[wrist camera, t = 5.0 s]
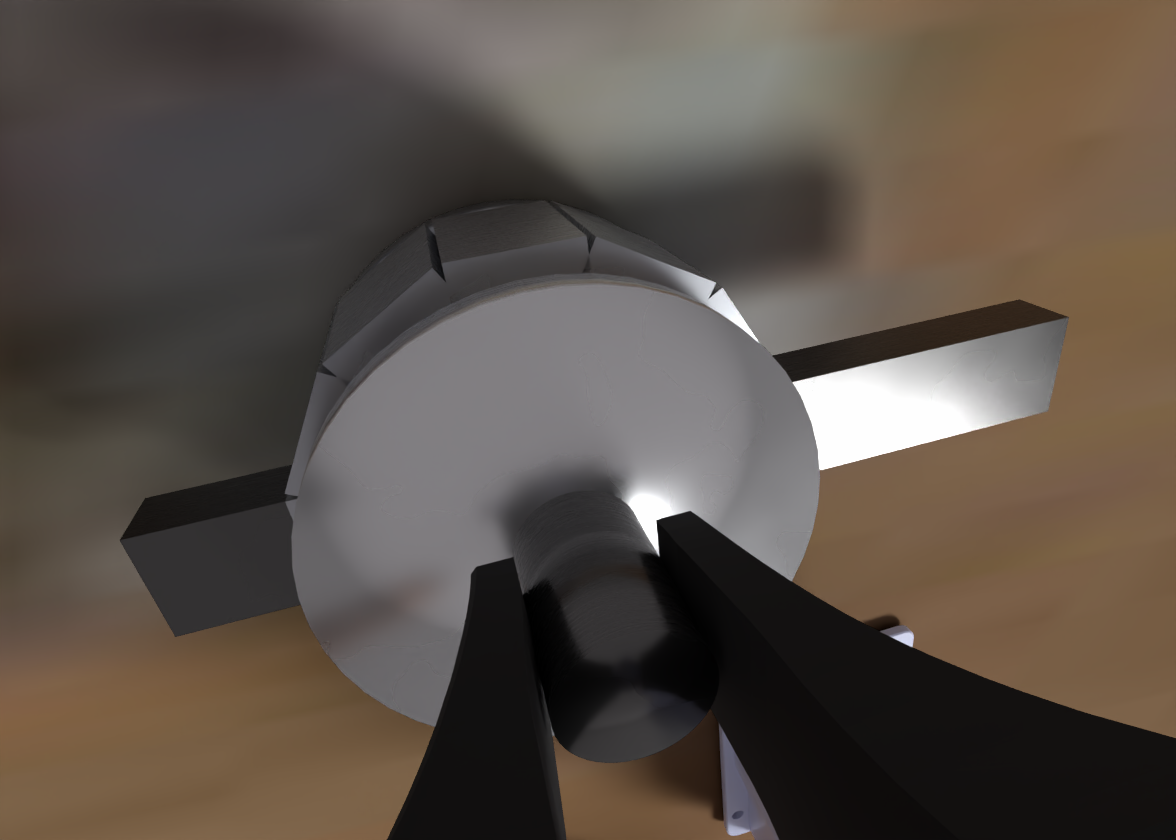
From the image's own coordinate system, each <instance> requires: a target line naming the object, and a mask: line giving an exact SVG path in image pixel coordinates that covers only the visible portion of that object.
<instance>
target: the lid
mask: <svg viewBox="0 0 1176 840" xmlns="http://www.w3.org/2000/svg"><path fill="white" fill-rule="evenodd" d="M819 482H820V471H819V458H818V448H817V444H816V439H815V435H814V431H813V426H812V422H811V420H810V417H809V415H808V412H807V410H806V408H805V405H804V403H803V400H802V398H801V396H800V394H799V392H798V391H797V389H796V387H795V386H794V384H793V383H792V381H791V379H790V378H789V376H788V374H787V373H786V371H785V370H784V369H783V368H782V367H781V365H780V364H779V363H778V362H777V361H776V360H775V359H774V357H773V356H772V355H771V354H770V353H769V352H768V351H767V349H766V348H765V347H763V346H762V345H761V344H760V343H758V342H757V341H756V340H755V339H754V338H752V337H751V336H750V335H749V334H748V333H746V332H745V331H744V330H743V329H742V328H740V327H739V326H737V325H736V324H735V323H733V322H732V321H730V320H729V319H728V318H726V317H725V316H723V315H722V314H720V313H719V312H717V311H715V310H714V309H712V308H710V307H709V306H707V305H705V304H704V303H702V302H700V301H699V300H697V299H695V298H693V297H691V296H688V295H686V294H683V293H681V292H678V291H676V290H674V289H671V288H669V287H666V286H664V285H660V284H656V283H652V282H648V281H644V280H640V279H636V278H632V277H626V276H616V275H607V274H597V273H578V274H553V275H547V276H541V277H535V278H529V279H523V280H517V281H513V282H509V283H506V284H503V285H499V286H496V287H493V288H490V289H486V290H483V291H480V292H477V293H474V294H472V295H470V296H468V297H465V298H463V299H461V300H459V301H457V302H454V303H452V304H450V305H448V306H446V307H443V308H441V309H439V310H438V311H436V312H434V313H433V314H431V315H429V316H428V317H426V318H425V319H423V320H421V321H420V322H418V323H417V324H415V325H413V326H412V327H410V328H408V329H407V330H405V331H404V332H403V333H402V334H400V335H399V336H398V337H397V338H396V339H394V340H393V341H392V342H391V343H389V344H388V345H387V346H386V347H385V348H383V349H382V350H381V351H380V352H379V353H377V354H376V355H375V356H374V357H373V358H372V359H371V360H370V361H369V362H368V364H367V365H366V366H365V367H364V368H363V369H362V370H361V371H360V372H359V373H358V374H357V375H356V376H355V378H354V379H353V380H352V381H351V382H350V383H349V384H348V386H347V387H346V389H345V390H344V392H343V393H342V394H341V396H340V397H339V399H338V400H337V402H336V403H335V405H334V406H333V407H332V409H331V410H330V412H329V413H328V415H327V417H326V419H325V421H324V423H323V425H322V427H321V429H320V431H319V433H318V435H317V437H316V439H315V442H314V444H313V446H312V449H311V452H310V455H309V459H308V462H307V465H306V468H305V471H304V475H303V478H302V482H301V486H300V490H299V494H298V498H297V502H296V508H295V515H294V522H293V529H292V536H291V539H292V569H293V574H294V579H295V584H296V589H297V593H298V598H299V601H300V604H301V606H302V609H303V611H304V614H305V616H306V619H307V621H308V624H309V627H310V628H311V630H312V632H313V633H314V635H315V637H316V638H317V640H318V641H319V643H320V645H321V646H322V648H323V650H324V651H325V653H326V654H327V655H328V656H329V657H330V659H331V660H332V661H333V662H334V663H335V664H336V666H337V667H338V668H339V669H340V670H341V671H342V673H343V674H344V675H345V676H347V677H348V678H349V679H350V680H351V681H352V682H354V683H355V684H356V685H357V686H358V687H359V688H361V689H362V690H363V691H364V692H365V693H367V694H368V695H370V696H371V697H373V698H374V699H376V700H378V701H379V702H381V703H382V704H384V705H385V706H387V707H388V708H390V709H392V710H394V711H397V712H399V713H401V714H403V715H405V716H407V717H409V718H412V719H414V720H416V721H419V722H422V723H425V724H428V725H431V726H434V727H435V726H436V723H437V720H438V717H439V714H440V711H441V707H442V704H443V701H444V698H445V695H446V692H447V689H448V686H449V683H450V680H451V676H452V673H453V669H454V665H455V661H456V657H457V653H458V649H459V645H460V642H461V638H462V634H463V629H464V624H465V619H466V614H467V608H468V602H469V594H470V584H471V573H472V572H473V570H474V569H475V568H476V567H477V566H481V565H484V564H488V563H492V562H496V561H500V560H504V559H507V558H511V557H514V561H515V565H516V569H517V573H518V578H519V582H520V586H521V590H522V595H523V599H524V603H525V608H526V612H527V616H528V621H529V625H530V629H531V634H532V638H533V644H534V650H535V657H536V662H537V667H538V671H539V675H540V679H541V684H542V688H543V692H544V697H545V701H546V705H547V709H548V714H549V718H550V723H551V730H552V736H555V737H556V738H557V740H558V741H559V743H560V744H561V745H562V746H563V747H564V748H565V749H567V750H568V751H569V752H571V753H572V754H574V755H576V756H578V757H580V758H583V759H586V760H590V761H595V762H604V763H617V762H626V761H631V760H636V759H640V758H643V757H647V756H650V755H652V754H655V753H657V752H660V751H662V750H664V749H666V748H668V747H669V746H671V745H673V744H674V743H676V742H678V741H679V740H681V739H682V738H683V737H685V736H686V735H687V734H688V733H690V732H691V731H692V730H693V729H694V728H695V727H696V726H697V725H698V724H699V723H700V722H701V721H702V719H703V718H704V717H705V716H706V714H707V713H708V711H709V710H710V708H711V706H712V704H713V702H714V700H715V698H716V695H717V692H718V688H719V669H718V665H717V662H716V660H715V658H714V656H713V654H712V652H711V650H710V648H709V647H708V645H707V643H706V641H705V639H704V638H703V636H702V634H701V632H700V630H699V628H698V627H697V625H696V623H695V621H694V619H693V617H692V616H691V614H690V612H689V610H688V608H687V607H686V605H685V603H684V601H683V599H682V597H681V596H680V594H679V592H678V590H677V588H676V586H675V585H674V583H673V581H672V579H671V577H670V576H669V574H668V572H667V570H666V568H665V566H664V565H663V563H662V561H661V559H660V557H659V546H658V536H657V526H656V520H657V519H661V518H665V517H668V516H672V515H676V514H680V513H684V512H688V511H691V512H693V513H695V514H696V515H697V516H699V517H700V518H702V519H703V520H704V521H706V522H707V523H708V524H710V525H711V526H713V527H714V528H715V529H717V530H718V531H719V532H721V533H722V534H723V535H725V536H726V537H728V538H729V539H730V540H732V541H733V542H735V543H736V544H737V545H739V546H740V547H742V548H743V549H744V550H746V551H747V552H749V553H750V554H751V555H753V556H754V557H756V558H757V559H759V560H760V561H761V562H763V563H764V564H766V565H767V566H769V567H770V568H772V569H774V570H775V571H777V572H778V573H780V574H781V575H783V576H784V577H786V578H787V579H789V580H790V581H792V580H793V578H794V576H795V573H796V571H797V569H798V567H799V565H800V563H801V561H802V559H803V557H804V554H805V551H806V548H807V545H808V542H809V539H810V536H811V533H812V531H813V526H814V521H815V516H816V511H817V506H818V497H819Z"/></svg>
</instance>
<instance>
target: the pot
mask: <svg viewBox="0 0 1176 840" xmlns="http://www.w3.org/2000/svg"><path fill="white" fill-rule="evenodd" d="M578 273H597V274H607V275H616V276H626V277H632V278H636V279H640V280H644V281H648V282H652V283H656V284H660V285H664V286H666V287H669V288H671V289H674V290H676V291H678V292H681V293H683V294H686V295H688V296H691V297H693V298H695V299H697V300H699V301H700V302H702V303H704V304H705V305H707V306H709V307H710V308H712V309H714V310H715V311H717V312H719V313H720V314H722V315H723V316H725V317H726V318H728V319H729V320H730V321H732V322H733V323H735V324H736V325H737V326H739V327H740V328H742V329H743V330H744V331H745V332H746V333H748V334H749V335H750V336H751V337H752V338H754V339H755V340H756V341H757V342H758V340H757V339H756V337H755V336H754V334H753V333H752V331H751V330H750V328H749V327H748V325H747V324H746V322H745V321H744V319H743V318H742V316H741V315H740V313H739V312H738V310H737V309H736V307H735V306H734V304H733V303H732V301H731V300H730V298H729V297H728V295H727V294H726V292H725V291H724V289H723V288H722V287H721V286H719V285H717V284H716V282H714V281H713V280H711V279H710V278H708V277H707V276H705V275H703V274H702V273H700V272H699V271H697V270H696V269H694V268H693V267H691V266H690V265H688V264H686V263H685V262H683V261H682V260H680V259H679V258H677V257H676V256H674V255H673V254H671V253H670V252H668V251H666V250H665V249H663V248H662V247H660V246H659V245H657V244H656V243H654V242H653V241H651V240H649V239H648V238H645V237H643V236H640V235H638V234H635V233H633V232H630V231H628V230H625V229H623V228H620V227H618V226H616V225H615V224H613V223H611V222H609V221H607V220H605V219H603V218H601V217H599V216H597V215H595V214H592V213H590V212H587V211H584V210H581V209H578V208H575V207H571V206H568V205H565V204H559V203H557V202H554V201H552V200H551V202H547V201H545V200H519V199H509V200H500V201H491V202H483V203H479V204H475V205H471V206H466V207H462V208H458V209H455V210H453V211H450V212H448V213H445V214H443V215H440V216H438V217H435V218H433V219H430V220H428V221H426V222H425V223H423V224H421V225H419V226H418V227H416V228H414V229H412V230H411V231H409V232H407V233H405V234H404V235H403V236H401V237H400V238H399V239H398V240H396V241H395V242H394V243H392V244H391V245H390V246H388V247H387V248H386V249H385V250H383V251H382V252H381V253H380V254H379V255H378V256H377V257H376V258H375V259H374V260H373V261H372V262H371V263H370V264H369V265H368V267H367V268H366V269H365V270H364V271H363V272H362V273H361V275H360V276H359V278H358V279H357V280H356V282H355V283H354V284H353V286H352V287H351V288H350V290H348V291H347V292H346V293H345V294H344V295H343V296H342V297H341V298H340V301H339V304H336V307H335V310H334V314H333V318H332V321H331V325H330V328H329V332H328V335H327V339H326V342H325V346H324V349H323V353H322V357H321V360H320V364H319V367H318V371H317V374H316V378H315V382H314V386H313V389H312V393H311V397H310V401H309V404H308V408H307V412H306V416H305V419H304V423H303V427H302V431H301V434H300V438H299V442H298V446H297V449H296V453H295V457H294V461H293V464H292V465H290V466H285V467H281V468H276V469H272V470H268V471H263V472H259V473H254V474H250V475H246V476H241V477H237V478H232V479H228V480H224V481H219V482H215V483H210V484H206V485H202V486H197V487H193V488H188V489H184V490H180V491H175V492H171V493H166V494H162V495H158V496H153V497H149V498H145V500H144V501H143V503H142V504H141V506H140V508H139V509H138V511H137V513H136V514H135V516H134V518H133V519H132V521H131V523H130V524H129V526H128V528H127V529H126V531H125V533H124V534H123V536H122V537H121V539H120V542H121V544H122V545H123V547H124V549H125V550H126V552H127V554H128V556H129V557H130V559H131V561H132V563H133V564H134V566H135V568H136V569H137V571H138V573H139V575H140V576H141V578H142V580H143V582H144V583H145V585H146V587H147V588H148V590H149V592H150V594H151V595H152V597H153V599H154V601H155V602H156V604H157V606H158V607H159V609H160V611H161V613H162V614H163V616H164V618H165V620H166V621H167V623H168V625H169V626H170V628H171V630H172V632H173V633H174V635H175V637H177V636H181V635H185V634H189V633H192V632H196V631H200V630H204V629H208V628H212V627H216V626H219V625H223V624H227V623H231V622H235V621H239V620H243V619H247V618H250V617H254V616H258V615H262V614H266V613H270V612H274V611H277V610H281V609H285V608H289V607H293V606H297V605H301V604H300V601H299V598H298V593H297V589H296V584H295V579H294V574H293V569H292V539H291V536H292V529H293V522H294V515H295V508H296V502H297V498H298V494H299V490H300V486H301V482H302V478H303V475H304V471H305V468H306V465H307V462H308V459H309V455H310V452H311V449H312V446H313V444H314V442H315V439H316V437H317V435H318V433H319V431H320V429H321V427H322V425H323V423H324V421H325V419H326V417H327V415H328V413H329V412H330V410H331V409H332V407H333V406H334V405H335V403H336V402H337V400H338V399H339V397H340V396H341V394H342V393H343V392H344V390H345V389H346V387H347V386H348V384H349V383H350V382H351V381H352V380H353V379H354V378H355V376H356V375H357V374H358V373H359V372H360V371H361V370H362V369H363V368H364V367H365V366H366V365H367V364H368V362H369V361H370V360H371V359H372V358H373V357H374V356H375V355H376V354H377V353H379V352H380V351H381V350H382V349H383V348H385V347H386V346H387V345H388V344H389V343H391V342H392V341H393V340H394V339H396V338H397V337H398V336H399V335H400V334H402V333H403V332H404V331H405V330H407V329H408V328H410V327H412V326H413V325H415V324H417V323H418V322H420V321H421V320H423V319H425V318H426V317H428V316H429V315H431V314H433V313H434V312H436V311H438V310H439V309H441V308H443V307H446V306H448V305H450V304H452V303H454V302H457V301H459V300H461V299H463V298H465V297H468V296H470V295H472V294H474V293H477V292H480V291H483V290H486V289H490V288H493V287H496V286H499V285H503V284H506V283H509V282H513V281H517V280H523V279H529V278H535V277H541V276H547V275H553V274H578ZM1068 319H1069V317H1067V316H1064V315H1061V314H1058V313H1056V312H1053V311H1050V310H1047V309H1044V308H1042V307H1039V306H1036V305H1033V304H1030V303H1028V302H1025V301H1022V300H1015V301H1011V302H1006V303H1002V304H998V305H993V306H989V307H984V308H980V309H976V310H971V311H967V312H962V313H958V314H954V315H949V316H945V317H940V318H936V319H932V320H927V321H923V322H918V323H914V324H910V325H905V326H901V327H896V328H892V329H888V330H883V331H879V332H874V333H870V334H866V335H861V336H857V337H852V338H848V339H844V340H839V341H835V342H830V343H826V344H822V345H817V346H813V347H808V348H804V349H800V350H795V351H791V352H786V353H782V354H778V355H773V357H774V359H775V360H776V361H777V362H778V363H779V364H780V365H781V367H782V368H783V369H784V370H785V371H786V373H787V374H788V376H789V378H790V379H791V381H792V383H793V384H794V386H795V387H796V389H797V391H798V392H799V394H800V396H801V398H802V400H803V403H804V405H805V408H806V410H807V412H808V415H809V417H810V420H811V422H812V426H813V431H814V435H815V439H816V444H817V448H818V458H819V470H822V469H826V468H830V467H834V466H838V465H842V464H846V463H849V462H853V461H857V460H861V459H865V458H869V457H873V456H877V455H880V454H884V453H888V452H892V451H896V450H900V449H904V448H907V447H911V446H915V445H919V444H923V443H927V442H931V441H934V440H938V439H942V438H946V437H950V436H954V435H958V434H962V433H965V432H969V431H973V430H977V429H981V428H985V427H989V426H992V425H996V424H1000V423H1004V422H1008V421H1012V420H1016V419H1020V418H1023V417H1027V416H1031V415H1035V414H1039V413H1043V412H1047V411H1048V408H1049V404H1050V399H1051V395H1052V390H1053V386H1054V382H1055V377H1056V373H1057V368H1058V364H1059V359H1060V355H1061V350H1062V346H1063V341H1064V337H1065V332H1066V328H1067V324H1068ZM758 343H759V342H758Z"/></svg>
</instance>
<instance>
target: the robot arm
mask: <svg viewBox="0 0 1176 840" xmlns="http://www.w3.org/2000/svg"><path fill="white" fill-rule="evenodd" d="M656 526H657V536H658V546H659V557H660V559H661V561H662V563H663V565H664V566H665V568H666V570H667V572H668V574H669V576H670V577H671V579H672V581H673V583H674V585H675V586H676V588H677V590H678V592H679V594H680V596H681V597H682V599H683V601H684V603H685V605H686V607H687V608H688V610H689V612H690V614H691V616H692V617H693V619H694V621H695V623H696V625H697V627H698V628H699V630H700V632H701V634H702V636H703V638H704V639H705V641H706V643H707V645H708V647H709V648H710V650H711V652H712V654H713V656H714V658H715V660H716V662H717V665H718V669H719V688H718V692H717V695H716V698H715V700H714V702H713V704H712V706H711V710H712V712H713V714H714V715H715V717H716V719H717V721H718V723H719V739H720V758H721V777H722V796H723V815H724V826H725V828H726V831H727V833H728V834H729V835H731V836H736V835H740V834H743V833H746V832H749V831H751V832H752V834H753V836H754V839H755V840H1176V738H1173V737H1169V736H1166V735H1162V734H1159V733H1155V732H1152V731H1148V730H1144V729H1141V728H1137V727H1134V726H1130V725H1127V724H1123V723H1120V722H1116V721H1113V720H1109V719H1105V718H1102V717H1098V716H1095V715H1091V714H1088V713H1085V712H1081V711H1078V710H1075V709H1072V708H1069V707H1066V706H1063V705H1060V704H1057V703H1054V702H1051V701H1048V700H1045V699H1042V698H1040V697H1037V696H1034V695H1031V694H1028V693H1025V692H1022V691H1019V690H1016V689H1014V688H1011V687H1008V686H1005V685H1003V684H1000V683H997V682H995V681H992V680H989V679H987V678H984V677H981V676H979V675H977V674H974V673H972V672H969V671H967V670H964V669H962V668H960V667H957V666H955V665H952V664H950V663H947V662H945V661H943V660H940V659H938V658H935V657H933V656H931V655H928V654H926V653H924V652H922V651H919V650H917V649H915V648H913V647H912V646H913V639H914V634H913V633H912V632H911V631H910V630H909V629H908V627H907V626H904V625H900V626H895V627H892V628H889V629H886V630H882V631H878V630H876V629H874V628H872V627H870V626H868V625H866V624H864V623H862V622H860V621H858V620H856V619H854V618H852V617H851V616H849V615H847V614H845V613H843V612H841V611H840V610H838V609H836V608H835V607H833V606H831V605H829V604H828V603H826V602H824V601H823V600H821V599H819V598H817V597H816V596H814V595H812V594H811V593H809V592H808V591H806V590H804V589H803V588H801V587H800V586H798V585H796V584H795V583H793V582H792V581H790V580H789V579H787V578H786V577H784V576H783V575H781V574H780V573H778V572H777V571H775V570H774V569H772V568H770V567H769V566H767V565H766V564H764V563H763V562H761V561H760V560H759V559H757V558H756V557H754V556H753V555H751V554H750V553H749V552H747V551H746V550H744V549H743V548H742V547H740V546H739V545H737V544H736V543H735V542H733V541H732V540H730V539H729V538H728V537H726V536H725V535H723V534H722V533H721V532H719V531H718V530H717V529H715V528H714V527H713V526H711V525H710V524H708V523H707V522H706V521H704V520H703V519H702V518H700V517H699V516H697V515H696V514H695V513H693V512H691V511H688V512H684V513H680V514H676V515H672V516H668V517H665V518H661V519H657V520H656ZM387 840H566V832H565V825H564V818H563V810H562V803H561V796H560V788H559V781H558V774H557V767H556V759H555V752H554V745H553V737H552V730H551V723H550V718H549V714H548V709H547V705H546V701H545V697H544V692H543V688H542V684H541V679H540V675H539V671H538V667H537V662H536V657H535V650H534V644H533V638H532V634H531V629H530V625H529V621H528V616H527V612H526V608H525V603H524V599H523V595H522V590H521V586H520V582H519V578H518V573H517V569H516V565H515V561H514V557H511V558H507V559H504V560H500V561H496V562H492V563H488V564H484V565H481V566H477V567H476V568H475V569H474V570H473V572H472V573H471V584H470V594H469V602H468V608H467V614H466V619H465V624H464V629H463V634H462V638H461V642H460V645H459V649H458V653H457V657H456V661H455V665H454V669H453V673H452V676H451V680H450V683H449V686H448V689H447V692H446V695H445V698H444V701H443V704H442V707H441V711H440V714H439V717H438V720H437V723H436V726H435V729H434V731H433V734H432V737H431V739H430V742H429V745H428V747H427V750H426V753H425V755H424V758H423V760H422V763H421V765H420V768H419V770H418V772H417V775H416V777H415V779H414V782H413V784H412V787H411V789H410V791H409V794H408V796H407V798H406V800H405V802H404V805H403V807H402V809H401V811H400V813H399V815H398V817H397V819H396V822H395V824H394V826H393V828H392V830H391V832H390V834H389V837H388V839H387Z"/></svg>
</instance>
